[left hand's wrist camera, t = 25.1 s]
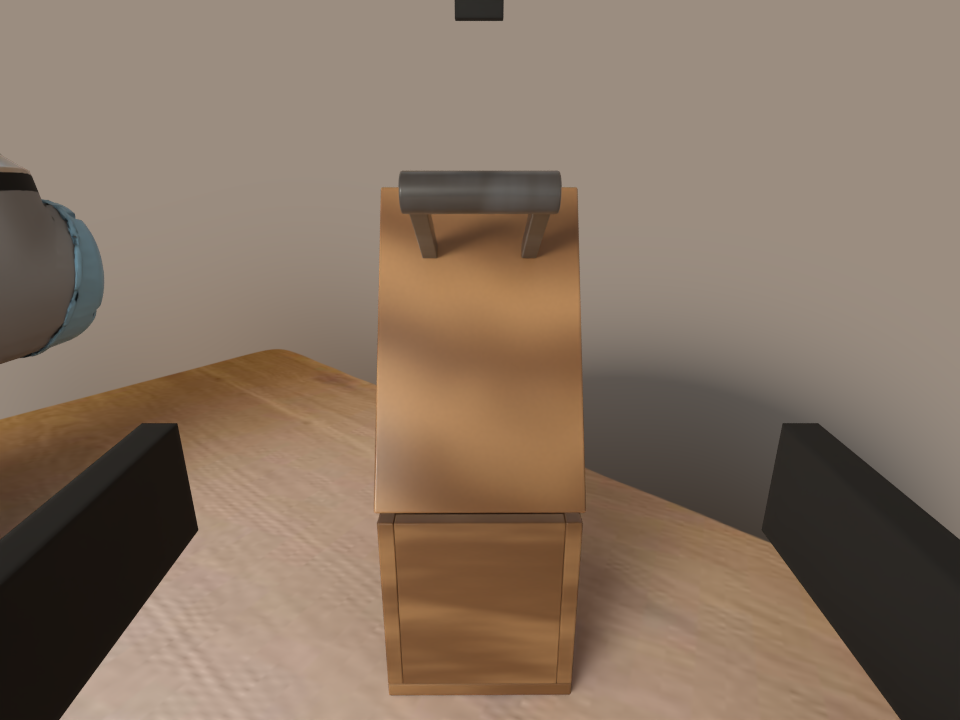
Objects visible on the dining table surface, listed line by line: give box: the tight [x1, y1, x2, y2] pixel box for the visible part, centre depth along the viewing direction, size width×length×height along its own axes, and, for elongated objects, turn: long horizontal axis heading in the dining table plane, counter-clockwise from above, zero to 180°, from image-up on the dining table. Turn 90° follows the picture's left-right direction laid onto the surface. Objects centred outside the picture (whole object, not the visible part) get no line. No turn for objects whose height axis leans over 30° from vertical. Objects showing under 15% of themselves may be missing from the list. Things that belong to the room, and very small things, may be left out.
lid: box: [374, 171, 586, 513], centre depth 24 cm, size 15×9×8 cm
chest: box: [377, 513, 583, 695], centre depth 35 cm, size 14×9×10 cm, turn 0°
